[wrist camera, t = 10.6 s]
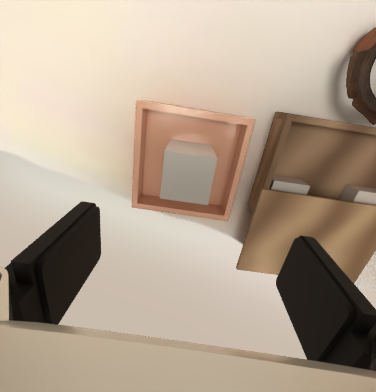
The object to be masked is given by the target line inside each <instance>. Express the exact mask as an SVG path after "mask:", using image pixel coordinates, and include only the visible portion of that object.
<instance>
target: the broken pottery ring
mask: <svg viewBox="0 0 376 392" xmlns="http://www.w3.org/2000/svg"><path fill="white" fill-rule="evenodd" d="M353 52H355V53H353V54H352V56H351V57H350V61H349V65H348V70H347V78H346V87H347V95H348V98H350V99H353V102H352V105H353V106H354V107H355V108H356V110H358V111H359V112H360V113H361V114H363V115H364V116H365V117H366V118H367V119H368V120H369V122H370V123H371V124H373V125H374V124H376V97H375V96H374V94H373V93H372V90H371V87H370V72H371V69H372V66H373V64H374V61H375V59H376V28H374V29H372V30H371V31H370V32H369V33H368V34H367V35H366V36H365V37H364V38H363V39H362V40H361V41H360V42H359V43H358V44H357V46H356V47H355V49H354V51H353Z"/></svg>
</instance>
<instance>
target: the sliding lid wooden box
mask: <svg viewBox="0 0 376 392" xmlns="http://www.w3.org/2000/svg"><path fill="white" fill-rule="evenodd" d="M274 175H277V176H284V177H290V178H297V179H301V180H303V181H304V182H305V183H307V184H308V185H310V188H309V190H308V193H307V195H304V194H298V193H291V192H284V191H278V190H271V189H269V187H270V185H271V182H272V179H273V176H274ZM346 184H349V185H356V186H362V187H369V188H375V189H376V128H373V127H367V126H361V125H355V124H349V123H343V122H337V121H331V120H325V119H319V118H313V117H307V116H301V115H295V114H289V113H282V112H276V113H275V116H274V119H273V123H272V126H271V129H270V133H269V136H268V139H267V143H266V146H265V149H264V152H263V156H262V159H261V162H260V166H259V169H258V172H257V176H256V179H255V182H254V185H253V189H252V192H251V195H250V199H249V202H248V206H249V208H250V210H251V212H252V214H253V217H252V220H251V223H250V226H249V229H248V232H247V235H246V238H245V241H244V244H243V248H242V251H241V254H240V257H239V260H238V263H237V266H236V268H237V269H238V270H246V271H253V272H261V273H269V274H276V275H279V272H280V270H281V268H282V266H283V263H284V261H285V259H286V257H287V254H288V252H289V250H290V248H291V245H292V243H293V241H294V239H295V238H298V237H299V236H308V237H313V238H315V239H316V240H317V241H318V242H319V244H320V245H321V246H322V247H323V248H324V249H325V251H326V252H327V253H328V254H329V255H330V257H331V258H332V259H333V260H334V261H335V262H336V264H337V265H338V266H339V267H340V268H341V269H342V271H343V272H344V273H345V274H346V275H347V276H348V278H349V279H350V280H351V281H352V282H353V283H355V281H356V280H357V278H358V276H359V275H360V273H361V272H362V270H363V269H364V267H365V266H366V264H367V263H368V261H369V260H370V258H371V257H372V255H373V254H374V252H375V251H376V205H371V204H365V203H358V202H351V201H345V200H339V198H340V196H341V194H342V192H343V190H344V188H345V186H346Z"/></svg>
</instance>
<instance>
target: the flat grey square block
mask: <svg viewBox="0 0 376 392" xmlns="http://www.w3.org/2000/svg"><path fill="white" fill-rule="evenodd" d="M309 188H310V185H308V184H307V183H305V182H304V181H303V180H301V179H297V178H290V177H284V176H277V175H274V176H273V179H272V182H271V185H270V187H269V189H271V190H278V191H284V192H291V193H298V194H304V195H307V193H308V190H309Z"/></svg>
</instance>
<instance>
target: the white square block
mask: <svg viewBox="0 0 376 392" xmlns="http://www.w3.org/2000/svg"><path fill="white" fill-rule="evenodd" d="M339 200H345V201H351V202H358V203H365V204H371V205H376V189H375V188H369V187H362V186H356V185H349V184H346V186H345V188H344V190H343V192H342V194H341V196H340V198H339Z"/></svg>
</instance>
